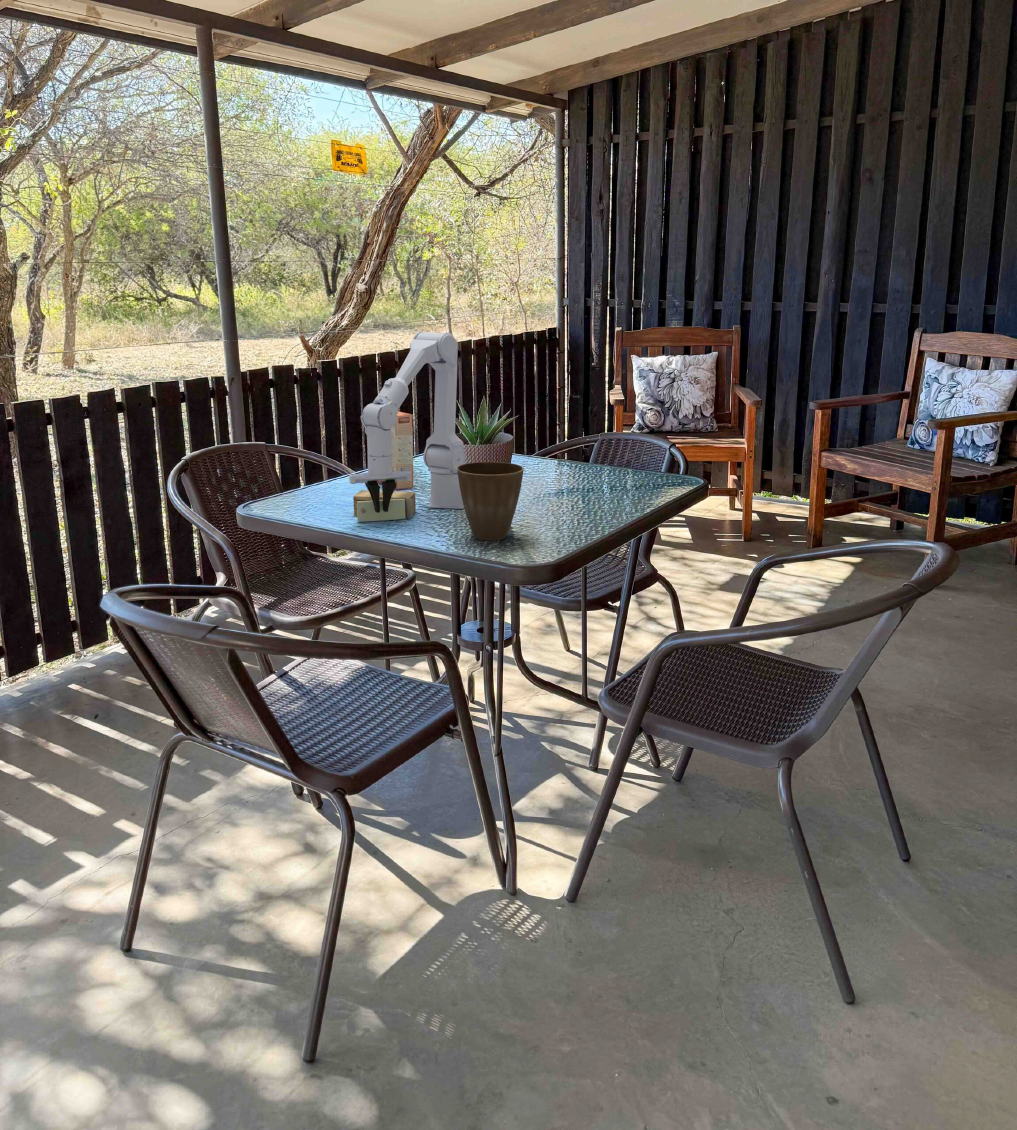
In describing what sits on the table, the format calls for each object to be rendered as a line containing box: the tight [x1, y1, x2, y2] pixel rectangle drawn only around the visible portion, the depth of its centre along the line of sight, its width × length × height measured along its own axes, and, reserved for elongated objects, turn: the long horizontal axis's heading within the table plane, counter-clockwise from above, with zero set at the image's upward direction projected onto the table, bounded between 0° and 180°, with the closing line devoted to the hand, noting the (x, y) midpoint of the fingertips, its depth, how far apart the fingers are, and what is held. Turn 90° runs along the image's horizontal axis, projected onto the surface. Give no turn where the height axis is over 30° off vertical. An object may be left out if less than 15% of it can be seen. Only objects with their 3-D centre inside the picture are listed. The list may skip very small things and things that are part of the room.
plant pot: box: [457, 461, 525, 542], centre depth 215 cm, size 15×15×16 cm
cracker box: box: [374, 411, 414, 491], centre depth 269 cm, size 14×6×21 cm, turn 34°
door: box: [356, 498, 412, 523], centre depth 230 cm, size 13×2×5 cm, turn 108°
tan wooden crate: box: [352, 489, 417, 519], centre depth 237 cm, size 14×7×5 cm, turn 83°
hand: (381, 511), depth 229 cm, fingers closed, pressing on door
